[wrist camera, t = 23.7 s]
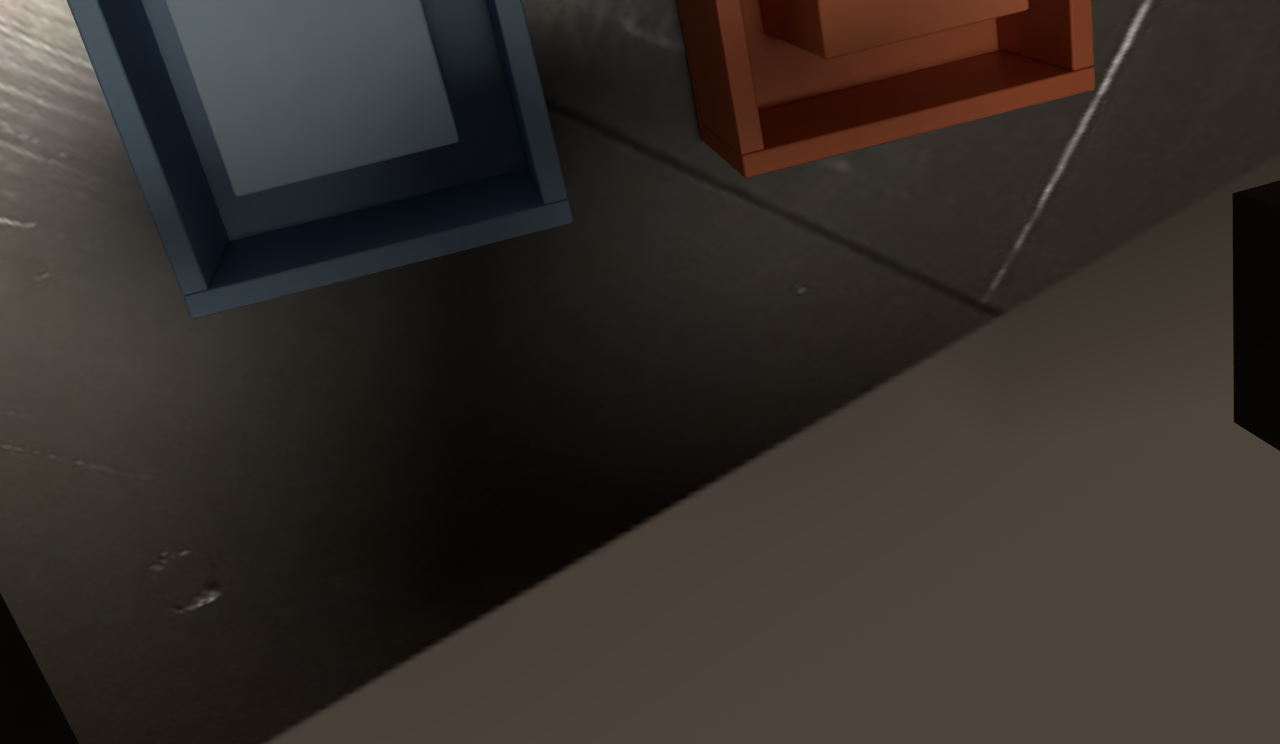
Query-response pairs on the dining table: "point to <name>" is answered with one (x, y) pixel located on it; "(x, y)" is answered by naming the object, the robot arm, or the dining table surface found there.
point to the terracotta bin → (871, 80)
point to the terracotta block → (872, 21)
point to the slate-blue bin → (340, 202)
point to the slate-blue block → (313, 84)
